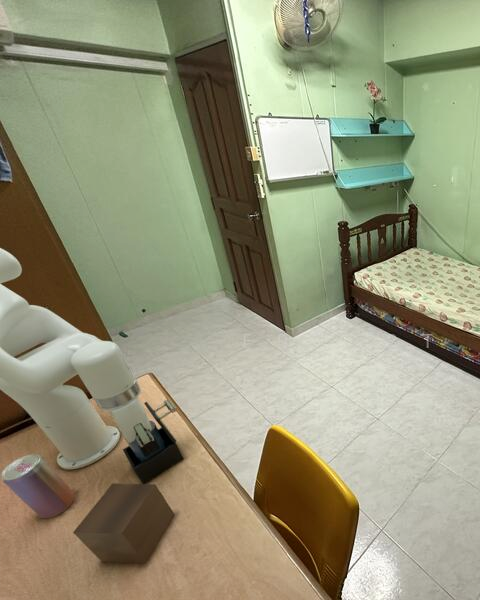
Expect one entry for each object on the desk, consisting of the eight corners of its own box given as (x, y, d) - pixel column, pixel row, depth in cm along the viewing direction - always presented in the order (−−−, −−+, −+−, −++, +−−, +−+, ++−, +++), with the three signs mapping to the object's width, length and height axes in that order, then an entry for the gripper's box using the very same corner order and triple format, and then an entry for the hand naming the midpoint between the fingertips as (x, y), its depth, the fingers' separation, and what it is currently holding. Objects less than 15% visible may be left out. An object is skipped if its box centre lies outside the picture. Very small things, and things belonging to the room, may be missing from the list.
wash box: (143, 485, 76) (133, 469, 73) (133, 465, 81) (122, 449, 78) (184, 458, 83) (175, 443, 79) (172, 441, 87) (163, 425, 84)
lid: (155, 420, 74) (176, 407, 76) (143, 403, 78) (163, 391, 81) (174, 443, 79) (192, 430, 82) (162, 425, 83) (180, 414, 86)
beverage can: (53, 522, 69) (13, 483, 62) (32, 516, 70) (-9, 477, 63) (82, 495, 74) (49, 456, 67) (62, 489, 75) (27, 450, 68)
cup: (133, 459, 78) (118, 436, 74) (156, 440, 83) (144, 417, 79) (149, 468, 77) (135, 444, 72) (172, 447, 82) (160, 424, 77)
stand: (102, 562, 63) (72, 532, 57) (135, 513, 71) (112, 483, 65) (146, 563, 63) (121, 533, 57) (174, 514, 71) (155, 484, 65)
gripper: (86, 383, 71) (118, 435, 80) (107, 424, 62) (141, 477, 71) (126, 366, 76) (152, 417, 85) (151, 401, 67) (178, 453, 76)
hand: (147, 443), depth 78 cm, fingers closed on cup, 6 cm apart
